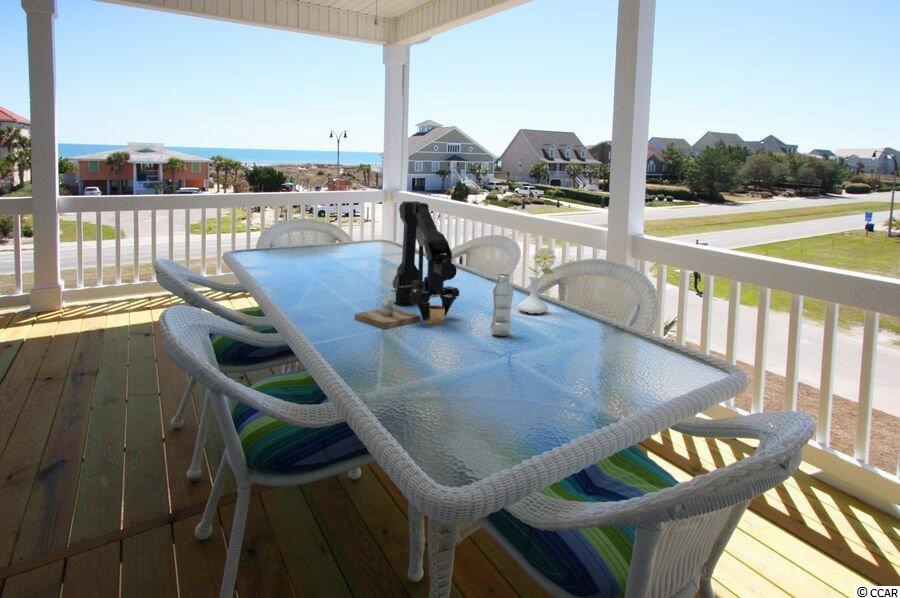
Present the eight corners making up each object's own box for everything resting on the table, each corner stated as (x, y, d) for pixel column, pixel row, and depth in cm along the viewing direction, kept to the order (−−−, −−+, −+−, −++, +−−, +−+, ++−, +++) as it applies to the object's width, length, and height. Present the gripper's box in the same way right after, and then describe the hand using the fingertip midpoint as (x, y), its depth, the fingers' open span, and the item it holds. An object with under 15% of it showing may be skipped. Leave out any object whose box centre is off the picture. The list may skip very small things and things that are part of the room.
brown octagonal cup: (434, 317, 215) (435, 304, 214) (448, 321, 211) (449, 307, 210) (420, 320, 211) (420, 306, 209) (433, 325, 206) (434, 310, 205)
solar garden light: (402, 294, 250) (403, 222, 243) (409, 289, 262) (410, 219, 255) (431, 297, 248) (433, 223, 241) (437, 290, 260) (439, 220, 253)
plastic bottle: (488, 332, 199) (491, 272, 195) (509, 332, 200) (512, 273, 195) (491, 338, 193) (494, 276, 188) (512, 338, 193) (516, 277, 189)
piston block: (390, 312, 221) (390, 292, 219) (420, 321, 210) (420, 300, 208) (354, 319, 210) (354, 298, 208) (384, 329, 199) (384, 307, 197)
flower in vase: (513, 313, 225) (517, 247, 220) (522, 307, 236) (526, 243, 230) (548, 318, 221) (553, 250, 215) (555, 311, 231) (560, 246, 225)
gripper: (438, 268, 219) (437, 310, 222) (399, 273, 206) (398, 318, 209) (461, 272, 211) (459, 316, 215) (421, 278, 198) (420, 324, 202)
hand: (434, 318), depth 210 cm, fingers open, 9 cm apart
